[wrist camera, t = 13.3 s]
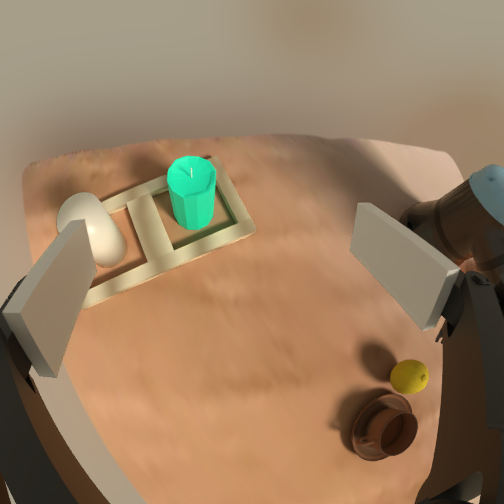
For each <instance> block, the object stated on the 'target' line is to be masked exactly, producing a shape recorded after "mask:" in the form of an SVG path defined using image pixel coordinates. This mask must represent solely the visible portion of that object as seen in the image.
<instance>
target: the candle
mask: <svg viewBox="0 0 504 504" xmlns="http://www.w3.org/2000/svg"><path fill="white" fill-rule="evenodd" d="M167 184H168V189H169V193H170V198H171V203H172V207H173V212H174V216H175V218H176V220H177V222H178V224H179V225H181V226H182V227H184V228H186V229H187V230H199V229H201V228H203V227H205V226H207V225H208V224H209V222H210V221H211V219H212V218H213V209H214V197H215V185H216V170H215V168H214V167H213V165H212V164H211V162H210V161H208V160H206V159H203V158H201V157H196V156H185V157H182V158H179V159H176V160H175V161H174V162H173V164H172V165H171V166H170V168H169V169H168V175H167Z"/></svg>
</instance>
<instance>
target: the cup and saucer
mask: <svg viewBox="0 0 504 504" xmlns="http://www.w3.org/2000/svg"><path fill="white" fill-rule="evenodd" d="M417 429H418V423H417V419H416V417H415V416H414V415H413V414H412V409H411V406H410V404H409V402H408V401H407V400H406V399H405V398H404V397H403V396H401V395H398V394H386V395H382V396H380V397H378V398H376V399H374V400H373V401H371V402H370V403H369V404H368V405H367V406H366V407H365V408H364V409H363V410H362V411H361V413H360V414H359V416H358V417H357V419H356V421H355V423H354V426H353V430H352V436H351V440H352V446H353V449H354V451H355V452H356V454H357V455H358V456H359V457H361V458H362V459H364V460H367V461H378V460H382V459H384V458H387V457H388V456H395V455H398V454H400V453H402V452H404V451H405V450H406V449H407V448H408V447H409V446H410V445H411V444H412V442H413V440H414V439H415V436H416V433H417Z"/></svg>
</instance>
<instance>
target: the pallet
mask: <svg viewBox="0 0 504 504" xmlns="http://www.w3.org/2000/svg"><path fill="white" fill-rule="evenodd" d="M206 160H208V161H210V162H211V164H212V165H213V167H214V168H215V170H216V186H217V188H218V190H219V192H220V194H221V196H222V198H223V200H224V202H225V204H226V206H227V207H228V209H229V211H230V213H231V215H232V217H233V219H234V221H235V223H236V224H235V225H232V226H230V227H228V228H225V229H223V230H221V231H218V232H216V233H213V234H211V235H209V236H206V237H204V238H202V239H199V240H197V241H195V242H193V243H190V244H188V245H186V246H183V247H181V248H179V249H177V250H174V249H173V247H172V245H171V242H170V240H169V238H168V235H167V233H166V230H165V228H164V226H163V223H162V221H161V218H160V216H159V213H158V211H157V208H156V206H155V203H154V201H153V198H152V197H153V196H156V195H158V194H160V193H163V192H165V191H168V190H169V189H168V184H167V175H168V174H166V175H163V176H160V177H158V178H156V179H153V180H151V181H148V182H146V183H143V184H141V185H139V186H136V187H134V188H132V189H129V190H127V191H125V192H123V193H120V194H118V195H116V196H114V197H111V198H109V199H107V200H105V201H103V202H101V204H102V205H103V207H104V208H105V210H106V211H107V213H108V214H109V215H112V214H114V213H117V212H119V211H121V210H123V209H125V208H128V210H129V213H130V215H131V218H132V221H133V224H134V227H135V229H136V232H137V235H138V238H139V240H140V243H141V245H142V248H143V251H144V253H145V256H146V258H147V261H148V262H147V263H145V264H143V265H141V266H139V267H136V268H134V269H132V270H130V271H128V272H125V273H123V274H121V275H119V276H117V277H115V278H112V279H110V280H108V281H106V282H104V283H102V284H100V285H98V286H95V287H93V288H91V289H89V290H88V293H87V295H86V298H85V300H84V302H83V305H82V307H81V309H82V310H86V309H88V308H90V307H92V306H94V305H96V304H98V303H101V302H103V301H105V300H107V299H109V298H111V297H114V296H116V295H118V294H120V293H122V292H124V291H127V290H129V289H131V288H133V287H135V286H138V285H140V284H142V283H144V282H146V281H149V280H151V279H153V278H155V277H157V276H160V275H162V274H164V273H166V272H169V271H171V270H173V269H175V268H177V267H180V266H182V265H184V264H186V263H189V262H191V261H193V260H195V259H198V258H200V257H202V256H204V255H207V254H209V253H211V252H213V251H216V250H218V249H220V248H223V247H225V246H227V245H229V244H232V243H234V242H236V241H239V240H241V239H243V238H245V237H248V236H250V235H252V234H255V233H256V231H257V228H256V226H255V225H254V223H253V221H252V219H251V217H250V215H249V213H248V212H247V210H246V208H245V206H244V204H243V202H242V200H241V199H240V197H239V195H238V193H237V191H236V189H235V188H234V186H233V184H232V182H231V180H230V178H229V177H228V175H227V173H226V171H225V169H224V167H223V166H222V164H221V162H220V160H219V158H218V156H215V157H212V158H209V159H206ZM59 234H60V233H59Z"/></svg>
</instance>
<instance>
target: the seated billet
mask: <svg viewBox="0 0 504 504" xmlns="http://www.w3.org/2000/svg"><path fill="white" fill-rule="evenodd" d="M80 219H85V222H86V227H87V232H88V236H89V241H90V245H91V249H92V253H93V257H94V261H95V263H96V264H97V265H99V266H100V267H103V268H112V267H115V266H117V265H118V264H120V263H121V262H122V260H123V259H124V258H125V256H126V253H127V241H126V238H125V237H124V235H123V234H122V232H121V231H120V230H119V228H118V227H117V225H116V224H115V223H114V221H113V220H112V218H111V217H110V215H109V214H108V213H107V211H106V210H105V208H104V207H103V205H102V204H101V202H100V201H99V199H98V198H97V197H96V196H95V195H93V194H91V193H88V192H81V193H77V194H74V195H73V196H71V197H69V198H68V199H67V200H66V201H65V202H64V203H63V205H62V206H61V208H60V210H59V212H58V215H57V229H58V232H59V233H61V231H62V230H63V229H64V228H65V227H66V226H67V224H68V223H69V222H70V221H72V220H80Z"/></svg>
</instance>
